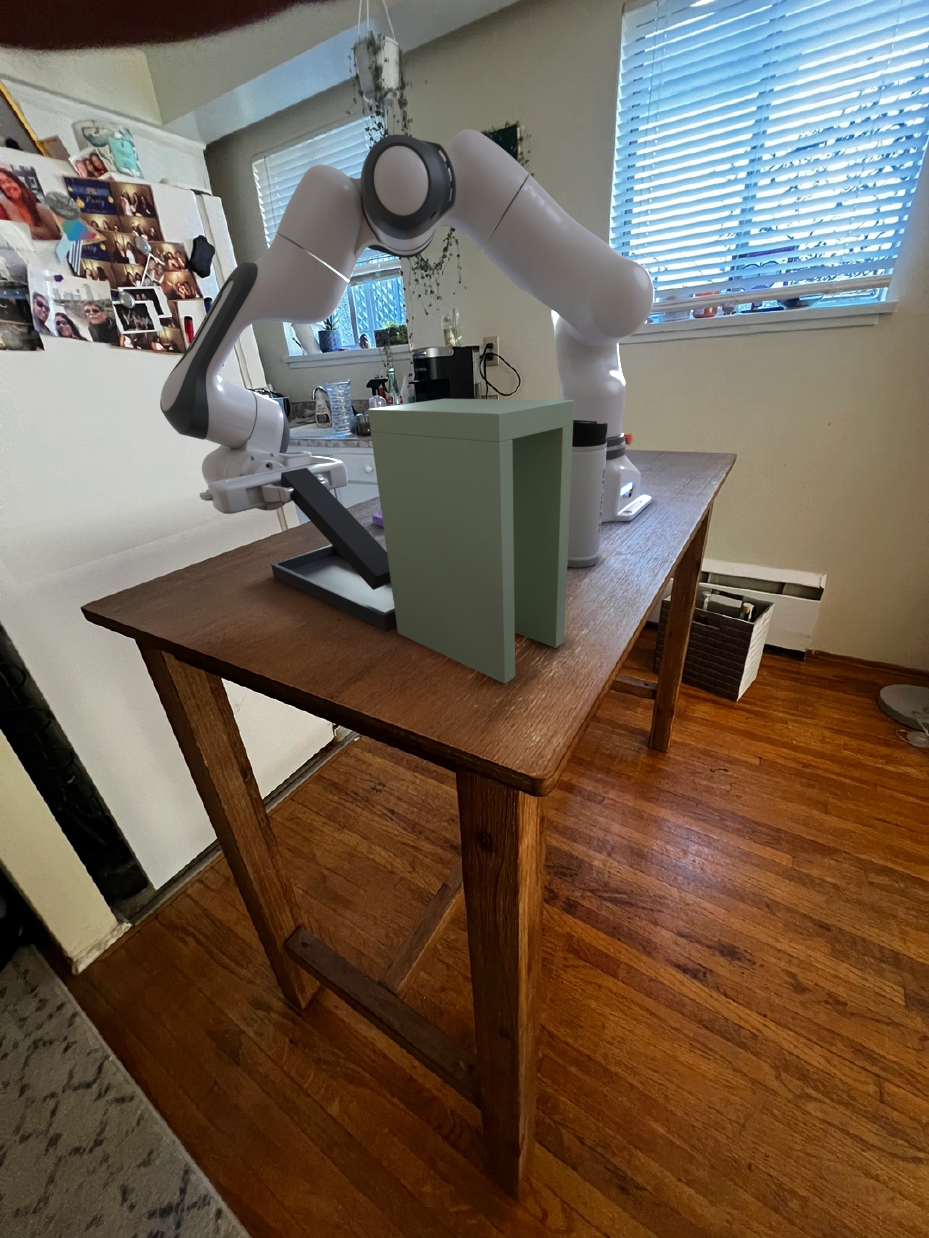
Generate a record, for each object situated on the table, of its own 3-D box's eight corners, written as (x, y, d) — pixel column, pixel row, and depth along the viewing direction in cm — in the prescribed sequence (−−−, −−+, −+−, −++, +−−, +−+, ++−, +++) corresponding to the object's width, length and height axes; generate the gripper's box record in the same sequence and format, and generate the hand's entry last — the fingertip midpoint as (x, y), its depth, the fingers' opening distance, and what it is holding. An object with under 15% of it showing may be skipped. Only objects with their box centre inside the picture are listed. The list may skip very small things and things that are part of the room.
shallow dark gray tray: (336, 555, 82) (334, 543, 81) (453, 598, 65) (452, 583, 64) (273, 577, 76) (270, 564, 75) (386, 631, 58) (383, 615, 57)
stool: (458, 602, 64) (444, 398, 53) (564, 642, 54) (574, 400, 43) (397, 633, 58) (367, 409, 47) (504, 684, 48) (498, 413, 37)
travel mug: (545, 558, 76) (548, 417, 67) (581, 550, 78) (589, 412, 69) (569, 571, 71) (575, 421, 62) (607, 562, 73) (619, 415, 64)
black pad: (305, 481, 73) (306, 467, 71) (397, 580, 66) (401, 566, 64) (280, 487, 71) (280, 472, 69) (372, 590, 64) (376, 576, 62)
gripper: (188, 473, 71) (228, 482, 62) (315, 449, 83) (364, 454, 74) (201, 516, 73) (242, 532, 65) (322, 487, 86) (370, 497, 77)
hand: (308, 490), depth 70 cm, fingers closed on black pad, 4 cm apart
